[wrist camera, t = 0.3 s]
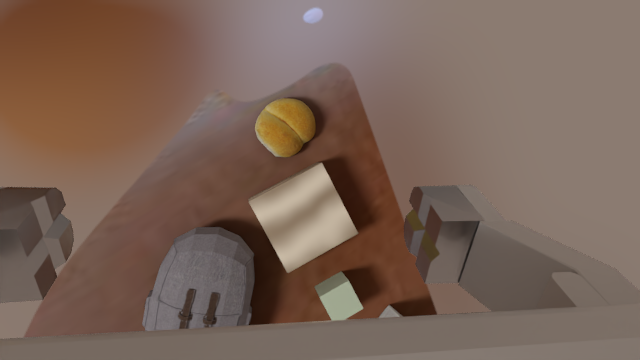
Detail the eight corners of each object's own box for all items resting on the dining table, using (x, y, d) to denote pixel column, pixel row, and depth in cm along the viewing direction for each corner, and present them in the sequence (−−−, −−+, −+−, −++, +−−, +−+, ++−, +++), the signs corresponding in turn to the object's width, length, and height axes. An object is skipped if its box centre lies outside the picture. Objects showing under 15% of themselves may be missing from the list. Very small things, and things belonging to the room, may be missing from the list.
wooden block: (350, 227, 65) (358, 233, 60) (284, 264, 64) (287, 273, 59) (316, 162, 64) (321, 162, 59) (248, 198, 62) (248, 201, 57)
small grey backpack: (240, 356, 63) (269, 233, 63) (238, 386, 55) (272, 244, 55) (140, 341, 60) (170, 212, 60) (123, 370, 52) (158, 221, 52)
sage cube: (354, 297, 66) (363, 308, 61) (328, 312, 65) (334, 325, 60) (341, 271, 65) (348, 280, 60) (314, 286, 64) (319, 297, 60)
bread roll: (323, 125, 64) (328, 123, 60) (283, 165, 63) (286, 166, 59) (286, 86, 62) (288, 82, 58) (245, 127, 61) (245, 125, 57)
